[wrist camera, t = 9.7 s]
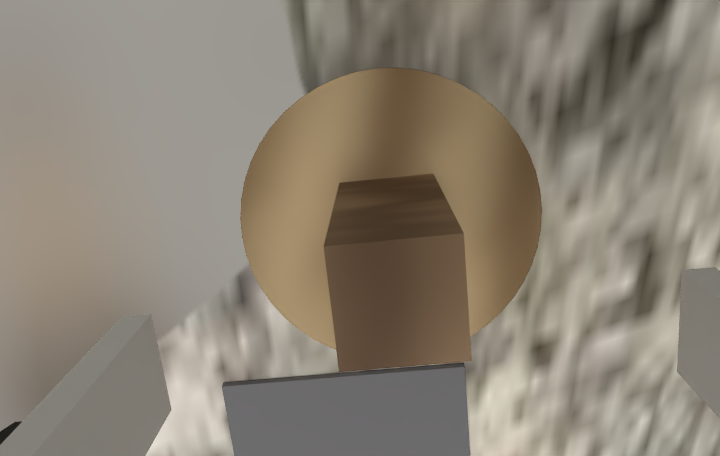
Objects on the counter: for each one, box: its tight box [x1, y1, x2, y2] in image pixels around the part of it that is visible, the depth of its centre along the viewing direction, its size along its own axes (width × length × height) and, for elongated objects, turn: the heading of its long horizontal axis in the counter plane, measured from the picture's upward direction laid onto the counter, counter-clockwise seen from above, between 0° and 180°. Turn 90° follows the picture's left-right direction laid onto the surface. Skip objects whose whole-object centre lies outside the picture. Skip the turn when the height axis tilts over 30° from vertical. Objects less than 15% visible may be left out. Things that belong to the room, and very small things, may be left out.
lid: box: [241, 68, 542, 372], centre depth 23 cm, size 13×13×10 cm
